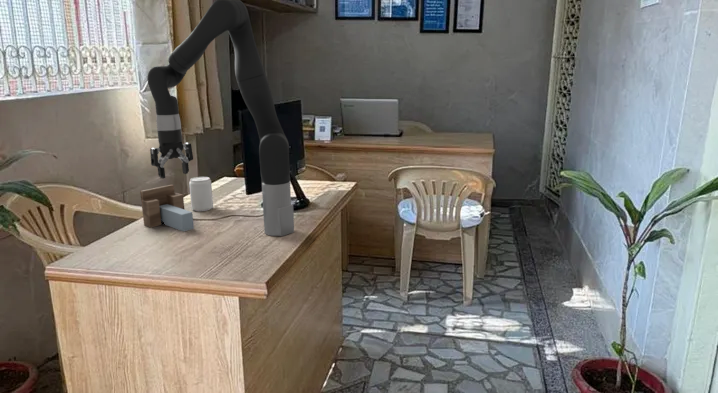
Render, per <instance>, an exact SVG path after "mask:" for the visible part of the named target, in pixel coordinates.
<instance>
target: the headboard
mask: <svg viewBox="0 0 718 393" xmlns="http://www.w3.org/2000/svg"><path fill="white" fill-rule="evenodd" d="M139 193H140V201H141V210H142V218H143V225H144V226H146V227H148V228H155V227H158V226H162V223H161V216H160V207H159V206H161V205H165V204H169V205H172V206H175V207H178V208H181V209H184V210H186V208H185V202H184V200H185V199H184V194H183V193H182V194H181V193H178V192H175V185H174V184H167V185H162V186H157V187H153V188H147V189H143V190H140V191H139Z"/></svg>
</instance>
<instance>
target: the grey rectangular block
mask: <svg viewBox="0 0 718 393" xmlns="http://www.w3.org/2000/svg"><path fill="white" fill-rule="evenodd" d="M159 207H160V216H161V219H162V221H163V222H164V224H165V225H164V224H163V225H164V226H167V227H170V228H173V229H175V230H178V231H180V232H187V231H190V230H195V225H194V216H193V212H192V211H191V210H187V209H185V208H184V209H185V210H184V209H181V208H178V207H175V206H172V205H169V204H165V205H161V206H159Z"/></svg>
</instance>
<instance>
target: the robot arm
mask: <svg viewBox="0 0 718 393" xmlns="http://www.w3.org/2000/svg"><path fill="white" fill-rule="evenodd" d="M225 32H228V34H229V37H230V39H231V42H232V46H233V50H234V74H235V78H236V82H237V86H238V89H239V91H240V94H241V96H242V99H243V101H244V103H245V105H246V108H247V109H248V111H249V112H250V114H251V116H252V118H253V120H254V123H255V127H256V129H257V134H258V139H259V147H258V149H259V150H258V153H259V167H260V172H259V173H260V177H261V179H260V180H261V192H262V193H261V194H262V214H263V228H264V231H263V232H264V234H265V235H267V236H272V237H284V236H287V235H290V234H292V233H294V232H295V221H294V220H295V218H294V205H293V204H292V196H291V195H292V194H291V172H290V171H291V169H290V148H289V146H290V145H289V141H288V138H287V136H286V134H285V133H284V130H283V128H282V125H281V123H280V121H279V117H278V116H277V115H278V114H277V112H276V108H275V102H274V98H273V93H272V90H271V87H270V82H269V80H268V77H267V74H266V71H265V69H264V68H265V67H264V65H263V63H262V62H263V61H262V60H261V57H260V53H259V50H258V48H257V47H258V46H257V44H256V42H255V37H254V32H253V27H252V24H251V18H250V15H249V11H248V8H247V6H246V5H245V4H244V2H242V1H241V0H215V1H214V2H213V3H212V4H211V5H210V6H209V8H208V9H207V11H206V12H205V14H203V16H202V18H201V19H200V21H199V23H197V25H196V26H195V28H194V29H193V30H192V31H191V33H190V34H189V35H188V36H187V37H186V38H185V39H184V40H183V41H182V42H180V44H179V45H178V46H176V47H175V49H174V50H173V51H171V53H170V54H169V55H168V59H167V61H168V64H166V65H161V66H159V65H157V66H153V67H150V69H149V70H148V72H147V76H146V78H147V79H146V80H147V85H148V87H149V91H150V93H151V95H152V98H153V100H154V105H155V114H156V120H155V122H156V129H157V130H156V131H157V139H158V140H157V141H158V143H159V146H158V147H150V150H149V151H150V165H151V167H152V166H154V167H156V168H157V173H158V177H160V179H166V171H165V164H166V163H167V162H168V160H172V159H177V158H178V159H179V160H180V161H181V168H182V169H181V170H182V173H183V174H184V175H188V174H189V172H190V167H189V162H191V161H193V160H194V155H193V147H192V143H190V142H184V143H183V134H182V132H183V131H182V123H181V118H180V114H179V113H180V111H179V103H178V98H177V97H176V96H175V95H171V94H170V91H169V89H171V88H172V89H173V88H174V87H176V86H178V85H179V84H181V82H182V81H183V79H184V78H185V76H186V74H187V72H188V70H189V71H190V69H191V68H192V67H193V66H194V65H195V64H197V62H198V61H199V60H200V59H201V58H202V57H203V55H204V54H205V52H206V50H207V48H208V46H209V45H210V44H211V43H212V42H213V41H214V40H216V38H218V37H219V36H220V35H222V34H224V33H225ZM183 150H184V151H185V153H183ZM159 154H160V155H159Z"/></svg>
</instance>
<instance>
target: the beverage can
mask: <svg viewBox="0 0 718 393" xmlns="http://www.w3.org/2000/svg"><path fill="white" fill-rule="evenodd" d="M188 183H189V184H188V186H189V195H190V196H189V197H190V205H191V207H190V208H191V210H192V211H196V212H206V211H209V210H211V209H213V208H214V199H213V198H214V197H213V188H212V187H213V186H212V180H211V178H210V177H208V176H196V177H191V178H190V179H189V182H188Z"/></svg>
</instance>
